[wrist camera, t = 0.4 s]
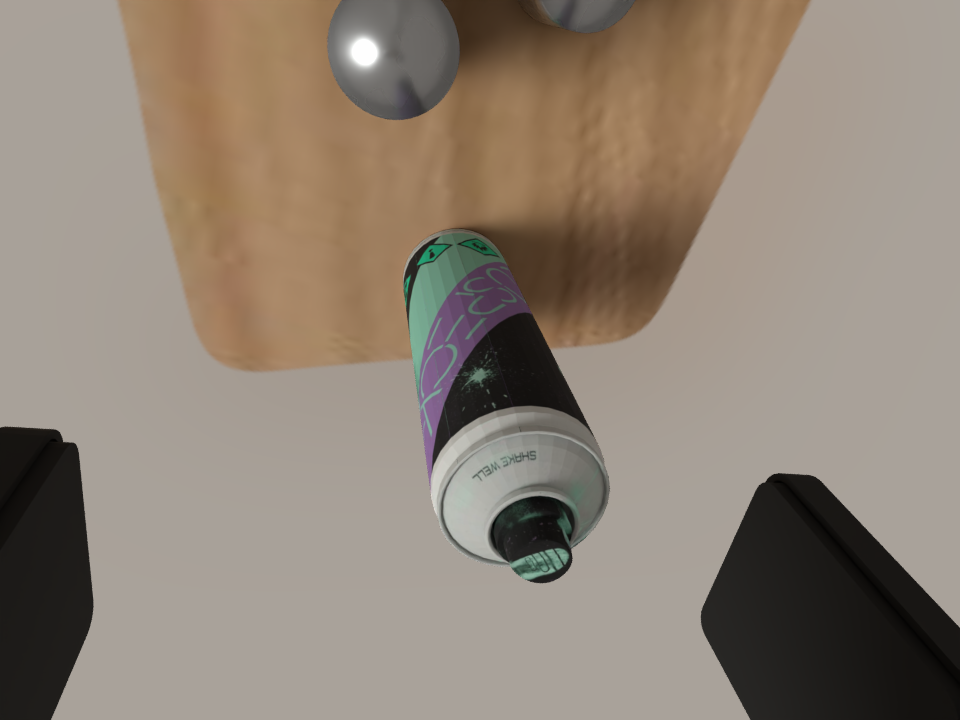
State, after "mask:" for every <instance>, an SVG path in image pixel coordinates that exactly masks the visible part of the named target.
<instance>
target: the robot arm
mask: <svg viewBox="0 0 960 720" xmlns="http://www.w3.org/2000/svg"><path fill="white" fill-rule="evenodd" d="M92 615H93V593H92V582H91V572H90V562H89V552H88V542H87V531H86V522H85V511H84V502H83V491H82V481H81V470H80V461H79V452H78V448H77V446H76V444H75V443H69V442H63V439H62V436H61V434H60V432H59V431H57V430H54V429H38V428H21V427H1V428H0V720H51V718H52V716H53V714H54V711H55V709H56V707H57V704H58V702H59V699H60V697H61V695H62V693H63V690H64V688H65V686H66V683H67V681H68V678H69V676H70V674H71V671H72V669H73V667H74V664H75V662H76V660H77V657H78V655H79V653H80V650H81V648H82V646H83V643H84V641H85V639H86V636H87V634H88V631H89V628H90V624H91V620H92ZM701 624H702V629H703V631H704V634H705V636H706V638H707V640H708V642H709V644H710V645H711V647H712V649H713V651H714V653H715V655H716V657H717V658H718V660H719V662H720V664H721V666H722V667H723V669H724V671H725V673H726V675H727V677H728V679H729V681H730V682H731V684H732V686H733V688H734V690H735V692H736V694H737V695H738V697H739V699H740V701H741V703H742V705H743V707H744V709H745V710H746V712H747V714H748V716H749V718H750V720H960V628H959V626H958V625H957V624H956V623H955V622H954V621H953V620H952V619H951V618H950V617H949V616H948V615H947V614H946V613H945V612H944V611H943V610H942V608H941V607H940V606H938V604H937V603H936V602H935V601H934V600H933V599H932V598H931V597H930V596H929V595H928V594H927V593H926V592H925V591H924V590H923V588H922V587H921V586H920V585H919V584H918V583H917V582H916V581H915V580H914V579H913V578H912V577H911V576H910V575H909V574H908V573H907V572H906V571H905V570H904V568H903V567H902V566H901V565H900V564H899V563H898V562H897V561H896V560H895V559H894V558H893V557H892V556H891V555H890V554H889V553H888V552H887V551H886V550H885V548H884V547H883V546H882V545H881V544H880V543H879V542H878V541H877V540H876V539H875V538H874V537H873V536H872V535H871V534H870V533H869V532H868V531H867V529H866V528H865V527H864V526H863V525H862V524H861V523H860V522H859V521H858V520H857V519H856V518H855V517H854V516H853V515H852V514H851V513H850V511H848V509H847V508H846V507H845V506H844V505H843V504H842V503H841V502H840V501H839V500H838V499H837V498H836V497H835V496H834V495H833V494H832V492H830V491H829V490H828V488H827V487H826V486H825V485H824V484H823V483H822V482H821V481H820V480H819V479H817V478H816V477H814V476H810V475H799V474H782V473H778V474H773V475H772V476H770V477H769V478H768V479H767V481H766V482H765V483H762V484H761V485H759V487H758V488H757V490H756V491H755V494H754V496H753V498H752V500H751V502H750V504H749V507H748V509H747V511H746V513H745V516H744V518H743V520H742V522H741V524H740V527H739V529H738V531H737V533H736V535H735V537H734V540H733V542H732V544H731V546H730V548H729V551H728V553H727V555H726V557H725V559H724V562H723V564H722V566H721V568H720V570H719V573H718V575H717V577H716V579H715V581H714V584H713V586H712V588H711V590H710V592H709V595H708V597H707V599H706V601H705V603H704V606H703V608H702V611H701Z"/></svg>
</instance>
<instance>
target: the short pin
mask: <svg viewBox="0 0 960 720" xmlns="http://www.w3.org/2000/svg"><path fill="white" fill-rule="evenodd" d="M634 1H635V0H518V2H519V3H520V5H521V7H522V8H523V9H524V11H525V12H526V13H527V14H528V15H529V16H531V17H532V18H533V19H535V20H537V21H539V22H541V23H544V24H547V25H551V26H555V27H559V28H563V29H567V30H571V31H575V32H580V33H593V32H598V31H602V30H604V29H607V28H609V27H611V26H612V25H614V24H615V23H617V22H618V21H619V20H620V19H621V18H622V17H623V16H624V15H625V14H626V13H627V12H628V10H629V9H630V8H631V6H632V5H633V3H634Z"/></svg>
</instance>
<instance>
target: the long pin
mask: <svg viewBox="0 0 960 720" xmlns="http://www.w3.org/2000/svg"><path fill="white" fill-rule="evenodd" d="M459 56H460V46H459V38H458V33H457V30H456V26H455V24H454V21H453V18H452V16H451V15H450V13H449V11H448V9H447V8H446V6H445V5H444V4H443V2H442V1H441V0H342V1H341V2H340V4H339V5H338V7H337V9H336V10H335V13H334V15H333V17H332V20H331V23H330V27H329V33H328V57H329V62H330V66H331V69H332V72H333V75H334V77H335V79H336V81H337V83H338V85H339V86H340V88H341V89H342V91H343V92H344V93H345V94H346V96H347V97H348V98H349V99H350V100H351V101H352V102H353V103H354V104H355V105H357V106H358V107H359V108H361V109H362V110H364V111H366V112H368V113H369V114H372V115H374V116H377V117H380V118H384V119H391V120H403V119H409V118H413V117H416V116H419V115H421V114H423V113H426V112H427V111H429V110H430V109H432V108H433V107H434V106H436V105H437V104H438V103H439V102H440V101H441V100H442V99H443V98H444V96H445V95H446V94H447V92H448V91H449V89H450V87H451V85H452V83H453V81H454V79H455V76H456V73H457V69H458V65H459Z"/></svg>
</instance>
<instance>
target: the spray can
mask: <svg viewBox="0 0 960 720" xmlns="http://www.w3.org/2000/svg"><path fill="white" fill-rule="evenodd" d="M403 288H404V296H405V304H406V311H407V319H408V326H409V334H410V341H411V349H412V356H413V363H414V371H415V379H416V386H417V393H418V401H419V409H420V416H421V423H422V430H423V439H424V446H425V454H426V461H427V469H428V476H429V483H430V491H431V498H432V503H433V506H434V510H435V513H436V515H437V517H438V520H439V524H440V527H441V530H442V532H443V534H444V536H445V537H446V539H447V541H448V542H449V543H450V544H451V545H452V546H453V547H454V548H455V549H456V550H457V551H459V552H461V553H462V554H463V555H465V556H466V557H468V558H470V559H472V560H475V561H477V562H480V563H483V564H488V565H492V566H500V567H511V568H512V569H513V570H514V572H516V574H518V575H519V576H520V577H522V578H524V579H526V580H528V581H530V582H534V583H547V582H551V581H554V580H556V579H558V578H560V577H561V576H562V575H564V574H565V573H566V571H568V569H569V568H570V566H571V563H572V553H571V549H572V548H573V547H574V546H576V545H577V544H578V543H580V542H581V541H582V540H584V539H585V538H586V537H587V536H588V535H589V533H590V532H591V531H592V530H593V529H594V528H595V527H596V525H597V524H598V522H599V521H600V519H601V517H602V516H603V514H604V511H605V509H606V506H607V503H608V498H609V491H610V486H609V476H608V474H607V471H606V469H605V466H604V458H603V456H602V453H601V450H600V448H599V445H598V443H597V442H596V439H595V438H594V435H593V433H592V432H591V430H590V428H589V426H588V424H587V422H586V420H585V418H584V416H583V414H582V412H581V410H580V408H579V406H578V404H577V402H576V400H575V398H574V396H573V394H572V392H571V390H570V388H569V386H568V384H567V382H566V380H565V378H564V376H563V374H562V372H561V370H560V368H559V366H558V364H557V363H556V361H555V358H554V357H553V355H552V353H551V350H550V349H549V347H548V345H547V343H546V341H545V339H544V337H543V335H542V333H541V331H540V329H539V327H538V325H537V323H536V321H535V319H534V317H533V315H532V313H531V311H530V309H529V307H528V305H527V303H526V301H525V299H524V297H523V295H522V293H521V291H520V289H519V287H518V285H517V283H516V281H515V279H514V277H513V275H512V273H511V271H510V269H509V267H508V265H507V264H506V262H505V260H504V258H503V256H502V254H501V253H500V251H499V250H498V249H497V247H496V246H495V245H494V244H493V243H492V242H491V241H490V240H489V239H487V238H486V237H484V236H483V235H481V234H479V233H476V232H473V231H470V230H465V229H449V230H444V231H440V232H437V233H435V234H433V235H430V236H429V237H427V238H426V239H424V240H423V241H422V242H421V243H420V244H419V245H418V246H417V247H416V248H415V249H414V250H413V252H412V253H411V255H410V256H409V258H408V260H407V263H406V265H405V269H404V275H403Z"/></svg>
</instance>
